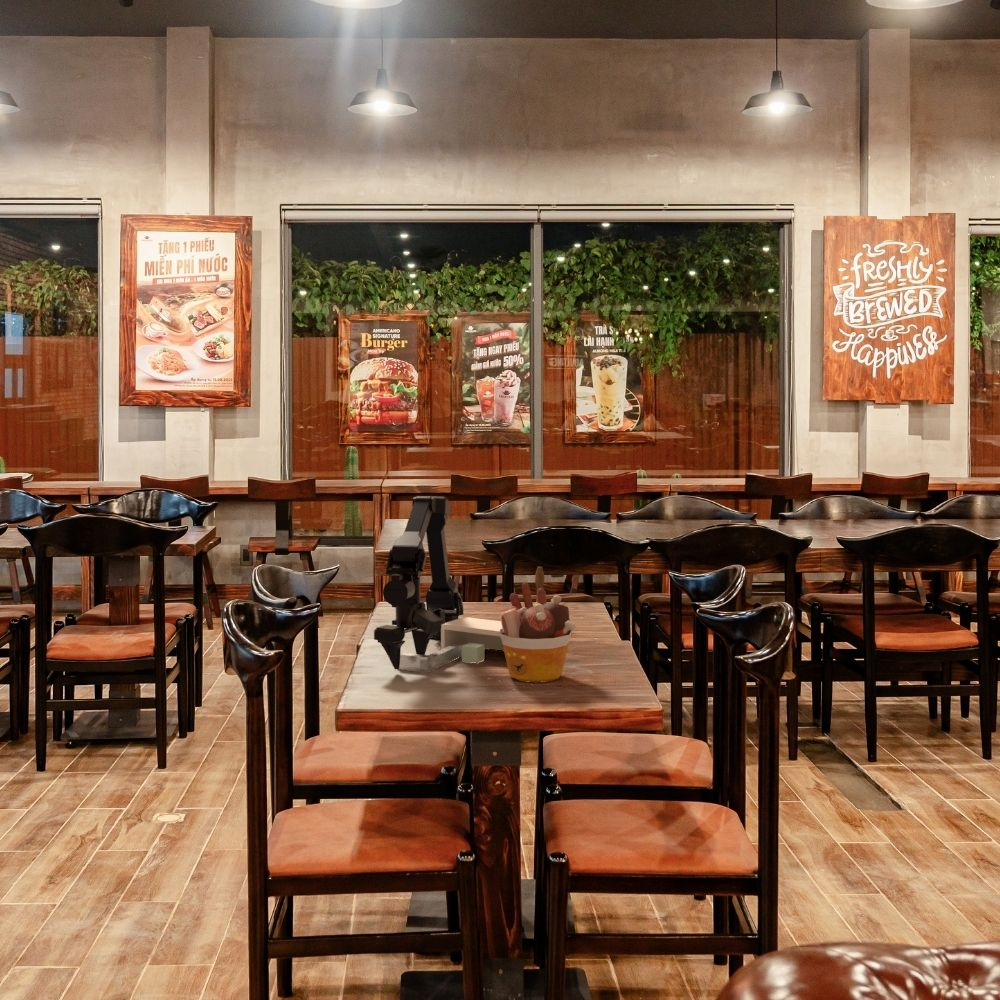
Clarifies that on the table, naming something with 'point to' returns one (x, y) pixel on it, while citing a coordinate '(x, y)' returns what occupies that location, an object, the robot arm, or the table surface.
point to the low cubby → (472, 632)
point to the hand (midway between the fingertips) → (408, 664)
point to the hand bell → (539, 580)
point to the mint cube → (473, 652)
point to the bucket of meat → (535, 636)
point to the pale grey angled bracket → (430, 659)
